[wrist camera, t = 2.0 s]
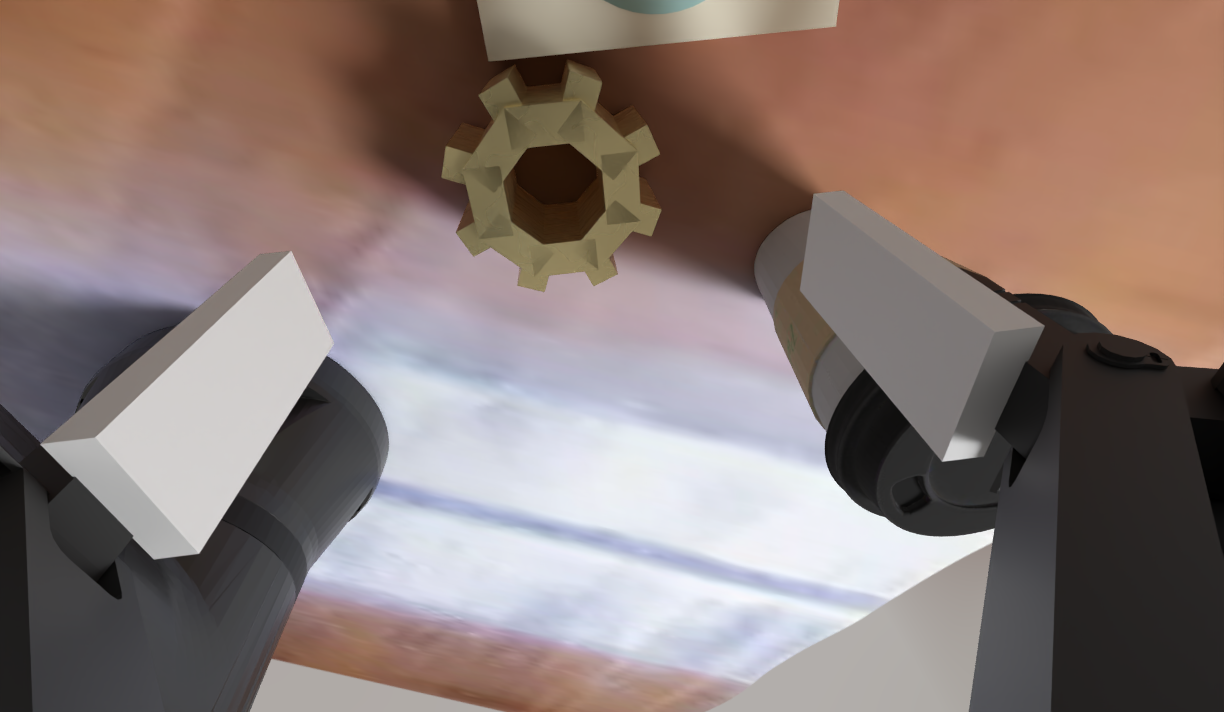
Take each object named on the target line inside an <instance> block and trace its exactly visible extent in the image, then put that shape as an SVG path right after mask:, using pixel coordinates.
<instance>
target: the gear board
mask: <svg viewBox="0 0 1224 712" xmlns="http://www.w3.org/2000/svg"><path fill="white" fill-rule="evenodd" d="M477 3H478V9H479V14H480V19H481V25H482V30H483V35H484V40H485V46H486V51H487V56H488V62H490V61H500V60H510V59H520V58H530V57H540V56H549V55H559V54H569V53H579V52H589V51H599V50H609V49H619V48H628V47H638V46H648V45H658V44H668V43H678V42H688V41H698V40H707V39H717V38H727V37H737V36H747V35H757V34H767V33H777V32H786V31H796V30H806V29H816V28H826V27H836V21H837V14H838V7H839V0H477Z"/></svg>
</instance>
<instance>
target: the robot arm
mask: <svg viewBox="0 0 1224 712" xmlns="http://www.w3.org/2000/svg"><path fill="white" fill-rule="evenodd" d="M800 291H801V293H802V294H803V295H804V296H805V297H806V299H807V300H808V301H809V302H810V303H811V305H812V306H813V307H814V308H815V309H816V311H817V312H818V313H819V314H820V315H821V317H822V318H823V319H824V320H825V321H826V323H827V324H828V325H829V326H830V327H831V329H832V330H833V331H834V332H835V333H836V335H837V336H838V337H839V338H840V339H841V341H842V342H843V343H844V344H845V345H846V347H847V348H848V349H849V350H850V351H851V353H852V354H853V355H854V356H855V357H856V359H857V360H858V361H859V362H860V363H861V365H862V366H863V367H864V368H865V369H866V371H867V372H868V373H869V374H870V375H871V377H872V378H873V379H874V380H875V381H876V383H877V384H878V385H879V386H880V388H881V389H882V390H883V391H884V392H885V394H886V395H887V396H888V397H889V398H890V400H891V401H892V402H893V403H894V404H895V406H896V407H897V408H898V409H899V410H900V412H901V413H902V414H903V415H904V416H905V418H906V419H907V420H908V421H909V422H910V424H911V425H912V426H913V427H914V428H915V430H916V431H917V432H918V433H919V434H920V436H921V437H922V438H923V439H924V440H925V442H926V443H927V444H928V445H929V446H930V448H931V449H932V450H933V451H934V452H935V454H936V455H937V456H938V457H939V458H940V460H941V461H942V462H944V461H952V460H960V459H968V458H976V457H984V455H985V453H986V451H987V449H988V447H989V445H990V442H991V440H992V438H993V436H994V434H995V432H996V431H997V432H998V433H999V434H1000V435H1001V436H1002V437H1003V438H1004V439H1005V440H1006V441H1007V442H1008V443H1009V444H1011V445H1012V447H1011V449H1010V451H1009V453H1008V455H1007V457H1006V459H1005V461H1004V463H1003V465H1002V467H1001V469H1000V471H999V473H998V475H997V477H996V479H995V480H994V482H993V484H992V486H991V488H990V490H989V491H990V492H993V493H996V494H997V492H998V491H999V489H1000V494H999V501H998V508H997V515H996V522H995V529H994V536H993V543H992V551H991V558H990V565H989V572H988V579H987V587H986V593H985V600H984V608H983V615H982V622H981V629H980V636H979V643H978V651H977V657H976V665H975V672H974V679H973V686H972V693H971V700H970V708H969V712H1224V363H1223V364H1222V366H1221V367H1220V368H1219V369H1209V368H1195V367H1181V366H1176V365H1175V364H1174V362H1173V361H1172V359H1171V358H1169V357H1168V356H1166V355H1165V354H1164V353H1162V352H1161V351H1159V350H1158V349H1156V348H1153V347H1151V346H1149V345H1146V344H1144V343H1142V342H1139V341H1137V340H1133V339H1129V338H1126V337H1122V336H1118V335H1113V334H1105V333H1097V332H1092V333H1078V334H1075V335H1074V334H1073V333H1071V332H1070V331H1068V330H1067V329H1065V328H1064V327H1062V326H1060V325H1059V324H1057V323H1056V322H1054V321H1053V320H1051V319H1050V318H1048V317H1047V316H1045V315H1044V314H1042V313H1040V312H1039V311H1037V310H1036V309H1034V308H1033V307H1031V306H1030V305H1028V304H1027V303H1021V300H1020V299H1019V298H1017V297H1016V296H1014V295H1013V294H1011V293H1010V292H1005V289H1004V288H1002V287H1000V286H999V285H997V284H996V283H994V282H993V281H991V280H990V279H988V278H987V277H985V276H982V275H979V274H977V273H974V272H971V271H968V270H966V269H963V268H960V267H956V266H955V265H953V264H952V263H950V262H949V261H947V260H946V259H944V258H943V257H941V256H940V255H938V254H937V253H935V252H934V251H932V250H931V249H929V248H928V247H926V246H925V245H924V244H922V243H921V242H919V241H918V240H916V239H915V238H913V237H912V236H910V235H909V234H907V233H906V232H904V231H903V230H901V229H900V228H898V227H897V226H895V225H894V224H892V223H891V222H889V221H888V220H886V219H885V218H883V217H882V216H880V215H879V214H877V213H876V212H874V211H873V210H871V209H870V208H868V207H867V206H865V205H864V204H862V203H861V202H859V201H858V200H857V199H855V198H854V197H852V196H851V195H849V194H848V193H846V192H845V191H835V192H826V193H816V194H813V201H812V208H811V215H810V222H809V229H808V236H807V243H806V250H805V257H804V264H803V271H802V278H801V285H800ZM333 345H334V342H333V340H332V338H331V336H330V333H329V331H328V329H327V327H326V325H325V323H324V321H323V318H322V316H321V314H320V312H319V310H318V308H317V305H316V303H315V301H314V299H313V297H312V295H311V293H310V290H309V288H308V286H307V284H306V282H305V280H304V278H303V275H302V273H301V271H300V269H299V267H298V265H297V262H296V260H295V258H294V256H293V254H292V252H291V251H285V252H276V253H267V254H259V255H258V256H257V257H256V258H255V259H254V260H253V261H251V262H250V263H249V264H248V265H247V266H246V267H244V268H243V269H242V270H241V271H240V272H239V273H237V274H236V275H235V276H234V277H233V278H232V279H231V280H229V281H228V282H227V283H226V284H225V285H224V286H222V287H221V288H220V289H219V290H218V291H217V292H215V293H214V294H213V295H212V296H211V297H210V298H209V299H207V300H206V301H205V302H204V303H203V304H202V305H200V306H199V307H198V308H197V309H196V310H195V311H193V312H192V313H191V314H190V315H189V316H188V317H187V318H185V319H184V320H183V321H182V322H181V323H180V324H178V325H177V326H173V327H169V328H165V329H162V330H158V331H155V332H153V333H150V334H148V335H146V336H144V337H142V338H140V339H138V340H137V341H135V342H133V343H132V344H131V345H129V346H128V347H127V348H126V349H124V350H123V351H122V352H121V353H119V354H118V355H117V356H116V357H115V358H113V359H112V360H111V361H110V362H109V363H107V364H106V365H105V366H104V367H103V368H101V369H100V370H99V371H98V372H97V373H96V374H95V375H94V377H93V378H92V379H91V380H90V382H89V383H88V384H87V386H86V387H85V389H84V391H83V392H82V395H81V397H80V400H79V403H78V406H77V409H76V412H75V414H74V415H73V416H72V417H71V418H70V419H68V420H67V421H66V422H65V423H64V424H63V425H61V426H60V427H59V428H58V429H57V430H56V431H55V432H53V433H52V434H51V435H50V436H49V437H48V438H46V439H45V440H44V441H43V442H42V443H40V442H39V441H38V440H37V439H36V438H35V437H34V436H33V435H32V434H31V433H30V432H29V431H28V430H27V429H26V428H25V427H24V426H23V425H21V424H20V423H19V422H18V421H17V420H16V419H15V418H14V417H13V416H12V415H11V414H10V413H9V412H8V411H7V410H6V409H5V408H4V407H3V406H2V405H1V404H0V712H250V709H251V707H252V704H253V702H254V699H255V697H256V695H257V692H258V690H259V687H260V685H261V682H262V680H263V678H264V675H265V672H266V670H267V668H268V665H269V663H270V661H271V658H272V656H273V654H274V651H275V649H276V646H277V644H278V642H279V639H280V637H281V635H282V632H283V630H284V627H285V625H286V623H287V620H288V618H289V616H290V613H291V611H292V608H293V606H294V604H295V601H296V599H297V597H298V594H299V592H300V590H301V587H302V585H303V583H304V580H305V578H306V575H307V573H308V571H309V569H310V568H311V567H312V565H313V564H314V563H315V562H316V561H317V559H318V558H319V557H320V556H321V555H322V553H323V552H324V551H325V550H326V548H327V547H328V546H329V545H330V544H331V542H332V541H333V540H334V539H335V537H336V536H337V535H338V534H339V533H340V531H341V530H342V529H343V527H344V526H345V525H346V524H347V522H349V521H350V520H351V519H353V518H354V517H355V516H356V515H357V514H358V513H359V512H360V511H361V510H362V509H363V507H364V506H365V505H366V504H367V503H368V501H369V500H370V498H371V497H372V495H373V493H374V491H375V489H376V487H377V485H378V482H379V479H380V477H381V474H382V471H383V468H384V466H385V463H386V460H387V456H388V449H389V439H388V432H387V427H386V424H385V421H384V418H383V416H382V414H381V412H380V410H379V408H378V406H377V404H376V403H375V401H374V400H373V398H372V397H371V396H370V394H369V393H368V392H367V391H366V389H365V388H364V387H363V386H362V385H361V384H360V383H359V382H358V381H357V380H356V379H355V378H354V377H353V376H352V375H351V374H350V373H348V372H347V371H346V370H345V369H343V368H342V367H341V366H339V365H338V364H337V363H335V362H334V361H332V360H331V359H329V358H328V357H326V356H327V354H328V352H329V351H330V349H331V348H332V346H333Z"/></svg>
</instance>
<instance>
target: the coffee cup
mask: <svg viewBox="0 0 1224 712" xmlns="http://www.w3.org/2000/svg"><path fill="white" fill-rule="evenodd" d="M810 215H811V210H808V211H805V212H802V213H799V214H797V215H795V216H793V217H791V218H789V219H787V220H786V221H784V222H783V223H782V224H780V225H779V226H778V227H776V228H775V229H774V230H773V231H772V232H771V233H770V234H769V235H768V236H767V238H766V239H765V240H764V241H763V243H762V244H761V246H760V248H759V250H758V252H757V255H756V259H755V263H754V274H755V279H756V283H757V285H758V287H759V290H760V292H761V294H762V296H763V298H764V301H765V303H766V305H767V307H768V309H769V311H770V314H771V316H772V318H773V321H774V326H775V331H776V333H777V336H778V338H779V340H780V342H781V345H782V347H783V349H784V351H785V353H786V355H787V358H788V360H789V362H790V364H791V366H792V368H793V371H794V373H795V375H796V377H797V379H798V381H799V383H800V386H801V388H802V390H803V392H804V394H805V396H806V399H807V401H808V403H809V405H810V407H811V409H812V412H813V414H814V416H815V418H816V419H817V421H818V422H819V423H820V424H821V426H822V427H823V428H824V429H825V430H826V432H827V433H826V439H825V458H826V463H827V466H828V469H829V471H830V474H831V475H832V477H833V478H834V480H835V481H836V483H837V484H838V485H839V486H840V487H841V488H842V489H843V490H845V492H846V493H847V494H848V495H849V497H850V498H851V499H852V500H853V501H854V502H855V503H857V504H858V505H859V506H861V507H862V508H864V509H866V510H868V511H870V512H872V513H874V514H877V515H879V516H883V517H886V518H887V519H888V520H889V521H890V522H892V523H893V524H895V525H896V526H898V527H900V528H902V529H904V530H906V531H909V532H912V533H916V534H920V535H926V536H958V535H966V534H972V533H977V532H982V531H986V530H990V529H993V528H995V522H996V515H997V508H998V501H999V494H1000V489H999V491H998V492H997V494H996V493H993V492H990V491H989V490H990V488H991V486H992V484H993V482H994V480H995V479H996V477H997V475H998V473H999V471H1000V469H1001V467H1002V465H1003V463H1004V461H1005V459H1006V457H1007V455H1008V453H1009V451H1010V449H1011V447H1012V445H1011V444H1009V443H1008V442H1007V441H1006V440H1005V439H1004V438H1003V437H1002V436H1001V435H1000V434H999V433H998V432H997V431H996V432H995V434H994V436H993V438H992V440H991V442H990V445H989V447H988V449H987V451H986V453H985V455H984V457H976V458H968V459H960V460H952V461H944V462H942V461H941V460H940V458H939V457H938V456H937V455H936V454H935V452H934V451H933V450H932V449H931V448H930V446H929V445H928V444H927V443H926V442H925V440H924V439H923V438H922V437H921V436H920V434H919V433H918V432H917V431H916V430H915V428H914V427H913V426H912V425H911V424H910V422H909V421H908V420H907V419H906V418H905V416H904V415H903V414H902V413H901V412H900V410H899V409H898V408H897V407H896V406H895V404H894V403H893V402H892V401H891V400H890V398H889V397H888V396H887V395H886V394H885V392H884V391H883V390H882V389H881V388H880V386H879V385H878V384H877V383H876V381H875V380H874V379H873V378H872V377H871V375H870V374H869V373H868V372H867V371H866V369H865V368H864V367H863V366H862V365H861V363H860V362H859V361H858V360H857V359H856V357H855V356H854V355H853V354H852V353H851V351H850V350H849V349H848V348H847V347H846V345H845V344H844V343H843V342H842V341H841V339H840V338H839V337H838V336H837V335H836V333H835V332H834V331H833V330H832V329H831V327H830V326H829V325H828V324H827V323H826V321H825V320H824V319H823V318H822V317H821V315H820V314H819V313H818V312H817V311H816V309H815V308H814V307H813V306H812V305H811V303H810V302H809V301H808V300H807V299H806V297H805V296H804V295H803V294H802V293H801V291H800V285H801V278H802V271H803V264H804V257H805V250H806V243H807V236H808V229H809V222H810ZM941 257H942V256H941ZM943 258H944V257H943ZM944 259H946V260H947V261H949V262H950V263H952V264H953V265H955V266H956V267H960V268H963V269H966V270H968V271H971V272H974V271H972V270H970V269H968V268H966V267H964V266H961V265H959V264H957V263H955V262H953V261H951V260H949V259H947V258H944ZM974 273H976V272H974ZM977 274H979V273H977ZM979 275H981V274H979ZM982 276H983V275H982ZM988 279H989V278H988ZM991 281H992V280H991ZM1013 295H1014V296H1016V297H1017V298H1019V299H1020V300H1021V303H1027V304H1028V305H1030V306H1031V307H1033V308H1034V309H1036V310H1037V311H1039V312H1040V313H1042V314H1044V315H1045V316H1047V317H1048V318H1050V319H1051V320H1053V321H1054V322H1056V323H1057V324H1059V325H1060V326H1062V327H1064V328H1065V329H1067V330H1068V331H1070V332H1071V333H1073V334H1074V335H1075V334H1078V333H1092V332H1097V333H1105V334H1112V333H1111V332H1110V331H1109V330H1108V329H1107V328H1106V327H1105V326H1104V325H1102V324H1101V323H1100V322H1098V320H1097V319H1096V318H1095V317H1094V316H1093V315H1092V313H1091V312H1089V311H1088V310H1087V309H1085V308H1084V307H1083V306H1081V305H1079V304H1077V303H1075V302H1073V301H1070V300H1068V299H1065V298H1062V297H1057V296H1053V295H1045V294H1029V293H1027V294H1013Z"/></svg>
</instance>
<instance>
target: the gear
mask: <svg viewBox="0 0 1224 712" xmlns="http://www.w3.org/2000/svg"><path fill="white" fill-rule="evenodd" d="M601 86H602V81H601V79H600V78H599V76H598V74H597V73H596V71H595V69H593V68H590V67H588V66H585V65H582V64H579V63H576V62H573V61H571V60H568V59H567V60H566V64H565V68H564V73H563V77H562V81H561V83H557V84H547V85H538V86H528V87H527V86H526V84H525V82H524V81H523V79H522V77H521V75H520V73H519V71H518V70H517V68H516V66H515V64H514V65H513V66H511V67H510V68H508V69H506V70H505V71H503V72H502V73H500V74H498V75H497V76H495V77H494V78H492V79H490V81H489V82H488V83H487V85H486V86H485V87H484V89H483V90H482V91H481V93H480V94H479V95H478V96H479V97H480V99H481V101H482V102H483V104H484V106H485V107H486V109H487V111H488V112H489V114H490V116H491V117H492V120H491V121H490V123H489V124H488V126H487V127H486V129H482V128H479V127H475V126H472V125H469V124H466V123H462V124H461V126H460V127H459V128H458V130H457V131H456V133H455V134H454V135H453V137H452V138H451V140H450V141H449V142H448V144H447V145H446V149H445V156H444V163H443V170H442V177H441V178H444V179H447V180H451V181H454V182H458V183H462V184H465V185H466V188H467V192H468V196H469V202H468V204H467V207H466V209H465V212H464V214H463V216H462V219H461V221H460V224H459V226H458V229H457V231H456V233H457V235H458V236H459V238H460V239H461V240H462V242H463V243H464V244H465V246H466V247H467V248H468V250H469V251H470V253H471V254H472V255H473V257H474V256H476V255H478V254H479V253H481V252H483V251H485V250H487V249H489V248H490V247H491V248H492V249H494V250H495V251H497V252H498V253H500V254H501V255H503V256H504V257H506V258H507V259H509V260H510V261H512V262H513V263H514V264H516V265H517V266H519V267H520V268H519V277H518V285H517V286H521V287H525V288H530V289H534V290H538V291H542V292H545V288H546V285H547V281H548V277H549V275H558V274H567V273H576V272H584V271H585V273H586V274H587V276H588V278H589V279H590V281H591V283H592V284H593V286H595V285H597V284H599V283H601V282H603V281H605V280H607V279H609V278H611V277H613V276H615V275H617V274H618V272H617V268H616V264H615V260H614V256H613V253H614V252H615V250H616V249H617V248H618V247H619V246H620V245H621V244H622V242H623V241H624V240H625V239H626V238H627V237H628V236H629V234H630V233H631V232H632V231H633V232H637V233H641V234H644V235H648V236H651V237H652V234H653V231H654V229H655V226H656V223H657V221H658V218H659V215H660V213H661V210H662V209H661V207H660V205H659V204H658V202H657V200H656V198H655V196H654V194H653V192H652V190H651V188H650V186H649V184H648V182H647V181H646V179H644V178H641V177H639V167H638V166H640V165H642V164H643V163H645V162H647V161H649V160H651V159H652V158H654V157H656V156H658V155H660V153H659V150H658V148H657V146H656V143H655V141H654V139H653V137H652V134H651V132H650V130H649V127H648V125H647V124H646V122H645V121H644V120H643V118H642V117H641V116H640V114H639V113H638V112H637V110H636V109H635V108H634V106H633V105H631V106H629V107H628V108H626V109H624V110H622V111H621V112H619V113H617V114H615V115H614V116H613V115H612V114H611V113H609V112H608V111H607V110H606V109H605V108H604V107H603V106H602V105H601V104H600V103H598V102H597V100H598V97H599V93H600V89H601ZM568 143H570V144H571V145H572V146H573V147H574V148H576V149H577V150H578V151H579V152H580V153H582V154H583V155H584V156H585V157H586V158H588V159H589V160H590V161H591V162H592V163H593V164H595V165H596V172H597V176H596V178H595V179H594V180H593V181H592V183H591V184H590V185H589V186H588V188H587V189H586V190H585V191H584V193H583V194H582V195H581V196H580V198H579V199H578V200H577V201H576V202H567V203H558V204H549V205H544V204H543V203H541V202H540V201H539V200H537V199H536V198H535V197H533V196H532V195H531V194H529V193H528V192H527V191H525V190H524V189H523V188H521V187H520V186H519V185H518V184H517V178H516V173H515V167H514V166H515V164H516V163H517V161H518V160H519V159H520V157H521V156H522V154H523V153H524V152H525V150H526V149H527V148H531V147H540V146H550V145H559V144H568Z"/></svg>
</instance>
